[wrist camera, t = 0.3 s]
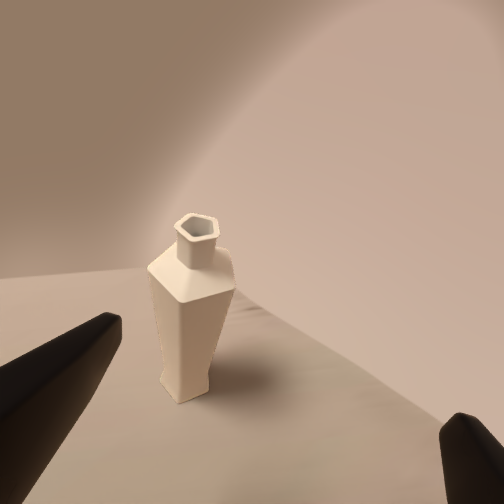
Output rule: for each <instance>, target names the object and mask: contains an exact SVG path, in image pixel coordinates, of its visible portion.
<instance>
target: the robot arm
mask: <svg viewBox="0 0 504 504" xmlns="http://www.w3.org/2000/svg"><path fill="white" fill-rule="evenodd" d="M121 340H122V318H121V317H120V316H119V315H116V314H113V313H109V312H105V313H102V314H100V315H98V316H97V317H95V318H93V319H91V320H89V321H87V322H85V323H83V324H81V325H79V326H77V327H76V328H74V329H72V330H70V331H68V332H66V333H64V334H62V335H60V336H58V337H56V338H55V339H53V340H51V341H49V342H47V343H45V344H43V345H41V346H39V347H37V348H35V349H34V350H32V351H30V352H28V353H26V354H24V355H22V356H20V357H18V358H16V359H14V360H12V361H11V362H9V363H7V364H5V365H3V366H1V367H0V504H22V503H23V501H24V500H25V498H26V497H27V495H28V494H29V492H30V491H31V489H32V488H33V486H34V485H35V483H36V482H37V480H38V479H39V477H40V476H41V474H42V473H43V471H44V470H45V468H46V467H47V465H48V464H49V462H50V461H51V459H52V458H53V456H54V455H55V453H56V452H57V450H58V449H59V447H60V446H61V444H62V443H63V441H64V440H65V438H66V437H67V435H68V433H69V432H70V430H71V429H72V427H73V426H74V424H75V423H76V421H77V420H78V418H79V417H80V415H81V414H82V412H83V411H84V409H85V408H86V406H87V405H88V403H89V402H90V400H91V398H92V397H93V395H94V393H95V391H96V389H97V387H98V385H99V384H100V382H101V380H102V378H103V376H104V374H105V372H106V370H107V368H108V366H109V365H110V363H111V361H112V359H113V357H114V355H115V353H116V351H117V349H118V347H119V345H120V343H121ZM439 442H440V449H441V457H442V465H443V473H444V481H445V489H446V496H447V502H448V504H504V447H503V446H502V445H501V444H500V443H499V442H498V441H497V439H496V438H495V437H494V436H493V435H492V434H491V433H490V432H489V430H488V429H486V427H485V426H484V425H483V424H482V423H481V422H480V421H479V420H478V419H477V418H476V417H474V416H471V415H468V414H464V413H456V414H454V416H453V417H451V419H449V420H448V422H447V423H446V424H445V425H444V426H443V427H442V428H441V429H440V433H439Z"/></svg>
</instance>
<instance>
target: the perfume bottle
mask: <svg viewBox="0 0 504 504" xmlns="http://www.w3.org/2000/svg"><path fill="white" fill-rule="evenodd" d="M174 228H175V229H176V231H177V241H176V242H175V243H174V244H173V245H172V246H171V247H169V248H168V249H167V250H166V251H165V252H163V253H162V254H161V255H160V256H159V257H158V258H157V259H155V260H154V261H153V262H152V263H151V264H149V266H148V267H147V270H148V276H149V282H150V287H151V293H152V299H153V305H154V311H155V317H156V323H157V328H158V334H159V340H160V346H161V352H162V358H163V364H164V371H163V373H162V375H161V377H160V379H159V381H160V383H161V384H162V385H163V386H164V388H165V389H166V390H167V392H168V393H169V394H170V395H171V397H172V398H173V399H174V400H175V402H176V403H178V404H180V403H183V402H185V401H188V400H190V399H192V398H195V397H197V396H199V395H202V394H204V393H206V392H208V390H209V379H208V370H209V367H210V364H211V361H212V358H213V355H214V352H215V349H216V345H217V342H218V339H219V336H220V333H221V330H222V327H223V324H224V321H225V318H226V314H227V311H228V308H229V305H230V302H231V299H232V296H233V293H234V290H235V287H236V284H235V278H234V273H233V267H232V261H231V256H230V252H229V250H227V249H224V248H220V247H215V245H216V239H217V238H218V237H219V236H220V230H219V224H218V220H217V219H216V218H213V217H209V216H205V215H200V214H196V213H189V214H187V215H185V216H184V217H183V218H182V219H180V220H179V221H178V222H177V223H175V225H174Z"/></svg>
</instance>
